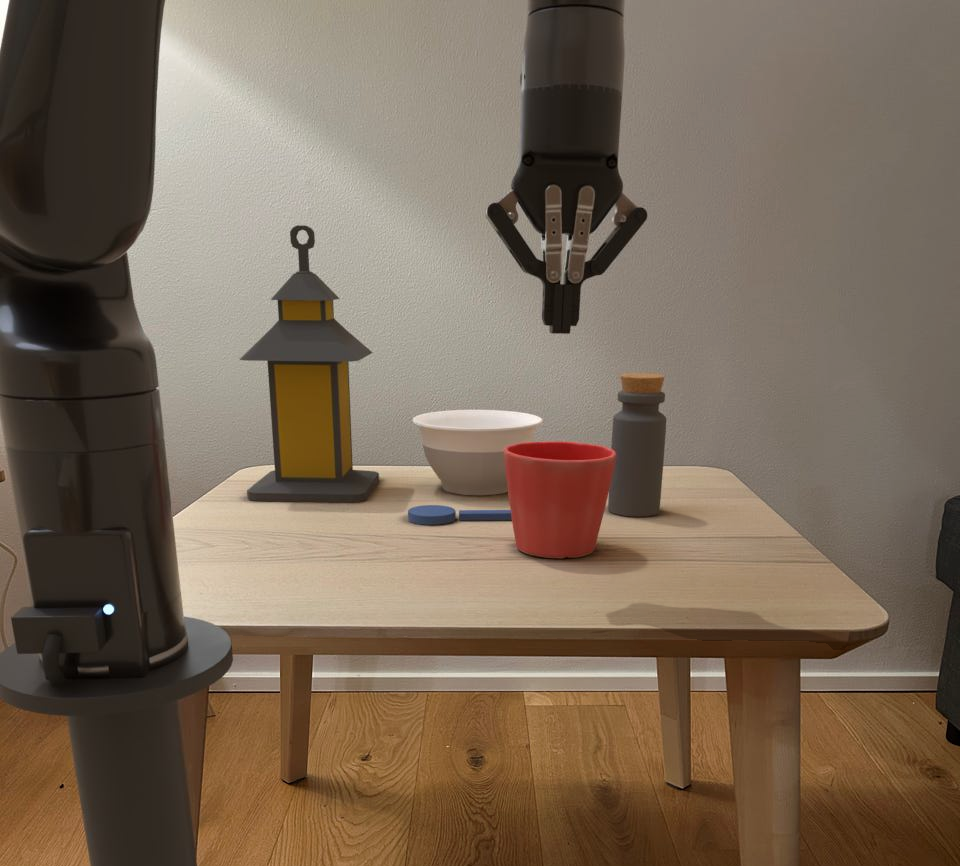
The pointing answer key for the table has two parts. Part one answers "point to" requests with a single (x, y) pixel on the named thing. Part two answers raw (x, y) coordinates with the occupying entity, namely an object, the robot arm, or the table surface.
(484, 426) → the bowl
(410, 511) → the spoon
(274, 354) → the lantern
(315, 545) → the table surface
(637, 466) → the bottle
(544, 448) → the flower pot
